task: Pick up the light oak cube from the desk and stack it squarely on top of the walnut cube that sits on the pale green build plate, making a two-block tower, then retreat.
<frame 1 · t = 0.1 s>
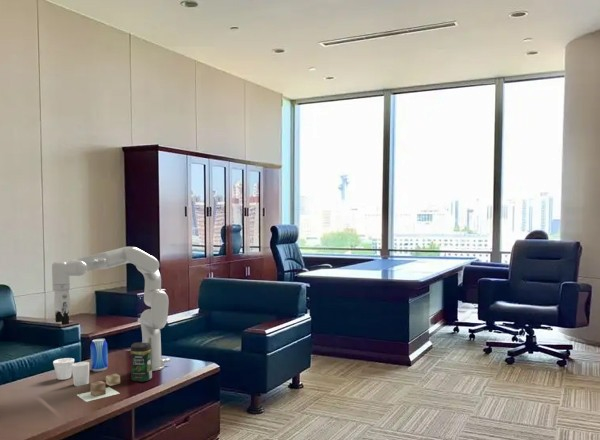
hand: (62, 323, 251), 31 cm above the table, tool pointing down, fingers open, 9 cm apart
walnut block: (98, 394, 235), point 1 cm above the table, touching build plate
oak block: (113, 386, 251), on the table
white cup: (81, 384, 256), on the table
cup: (64, 378, 267), on the table
beer can: (99, 370, 281), on the table
coffee jar: (141, 380, 259), on the table
build plate: (98, 396, 235), on the table
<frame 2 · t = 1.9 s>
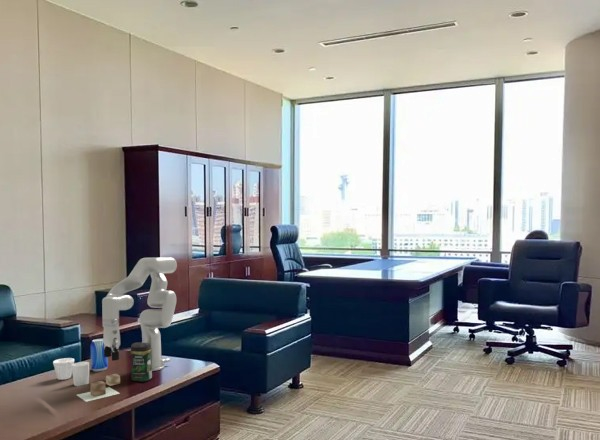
hand: (111, 358, 250), 13 cm above the table, tool pointing down, fingers open, 9 cm apart
nothing on the table moved.
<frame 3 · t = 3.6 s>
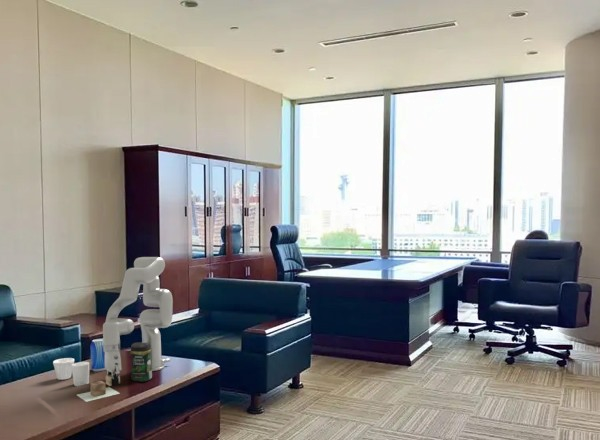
hand: (113, 385, 251), 0 cm above the table, tool pointing down, fingers closed on oak block, 5 cm apart
oak block: (113, 386, 251), on the table, touching gripper
everything else where it was.
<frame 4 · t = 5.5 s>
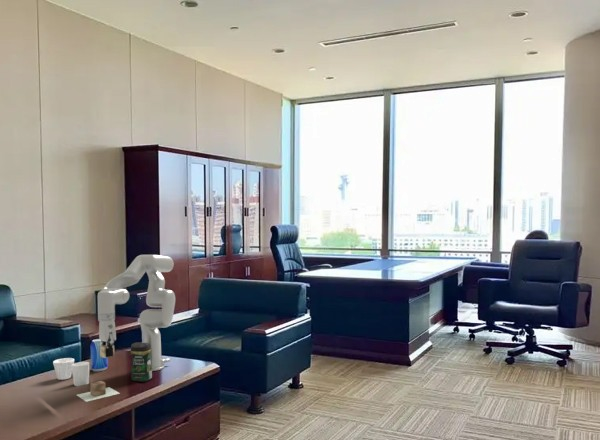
hand: (107, 355, 246), 16 cm above the table, tool pointing down, fingers closed on oak block, 5 cm apart
oak block: (107, 356, 246), point 16 cm above the table, touching gripper
everything else where it was.
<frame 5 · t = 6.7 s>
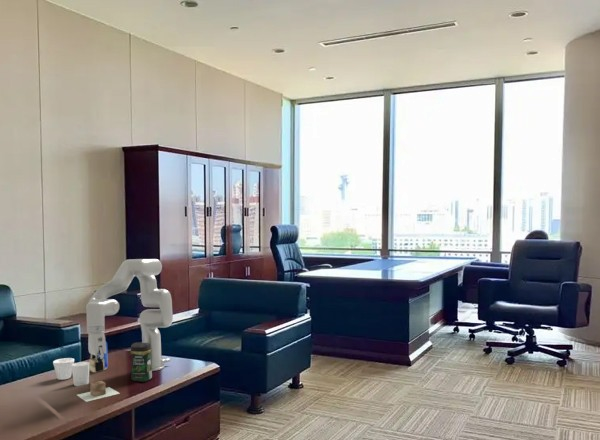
hand: (97, 369, 235), 12 cm above the table, tool pointing down, fingers closed on oak block, 5 cm apart
oak block: (97, 370, 235), point 12 cm above the table, touching gripper
everything else where it was.
when the fingers open (8 cm above the table, at t = 7.8 s): oak block drops 1 cm, resting on walnut block.
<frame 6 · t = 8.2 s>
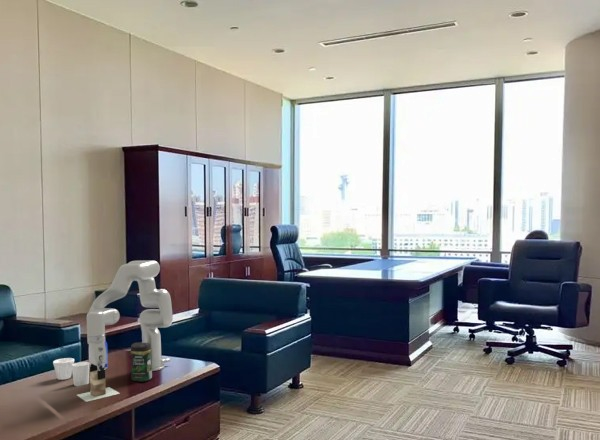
hand: (97, 376, 235), 9 cm above the table, tool pointing down, fingers open, 9 cm apart
walnut block: (98, 394, 235), point 1 cm above the table, touching build plate, oak block
oak block: (97, 383, 235), point 6 cm above the table, touching walnut block
everything else where it was.
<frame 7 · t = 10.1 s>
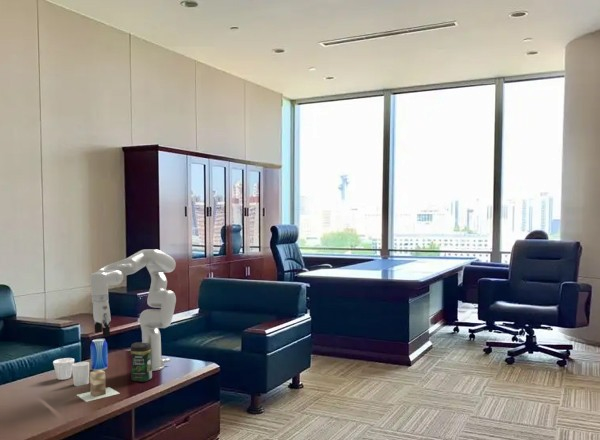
hand: (102, 334, 248), 26 cm above the table, tool pointing down, fingers open, 9 cm apart
nothing on the table moved.
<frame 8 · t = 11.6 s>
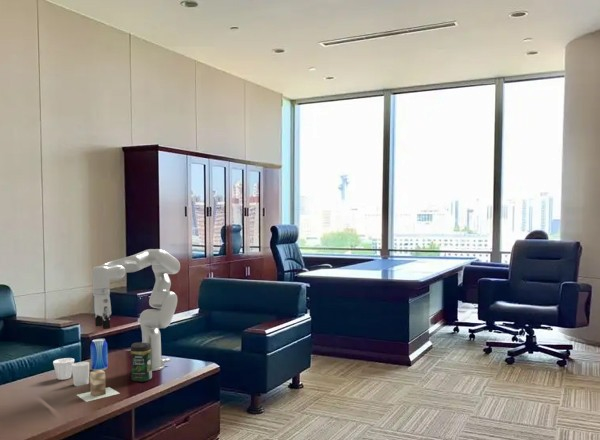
hand: (102, 327, 251), 28 cm above the table, tool pointing down, fingers open, 9 cm apart
nothing on the table moved.
at the end: oak block 0.0 cm off-centre on the walnut block, point 5.0 cm above the walnut block's base; the gripper is holding nothing; walnut block tilted 0° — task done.
